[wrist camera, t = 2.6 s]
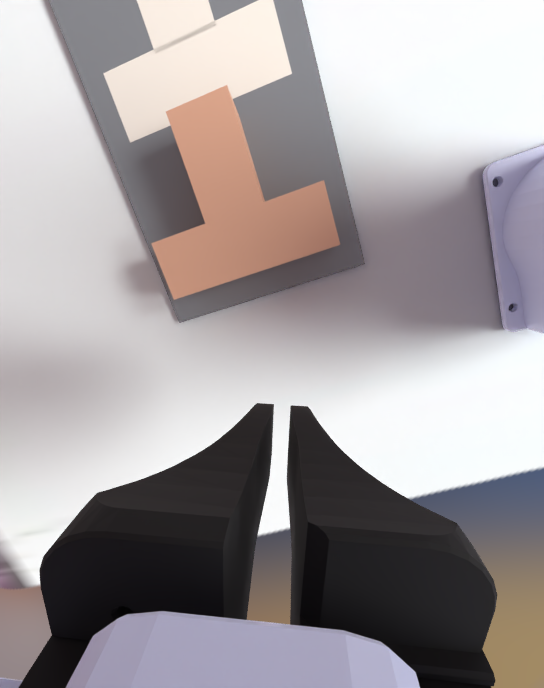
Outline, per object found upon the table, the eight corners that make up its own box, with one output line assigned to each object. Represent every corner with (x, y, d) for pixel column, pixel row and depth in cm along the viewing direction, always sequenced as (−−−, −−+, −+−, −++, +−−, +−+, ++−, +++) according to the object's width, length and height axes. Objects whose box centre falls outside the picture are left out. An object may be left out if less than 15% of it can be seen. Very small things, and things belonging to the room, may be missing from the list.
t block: (332, 246, 18) (340, 244, 15) (191, 293, 19) (173, 299, 16) (292, 92, 16) (292, 56, 13) (139, 156, 17) (108, 136, 14)
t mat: (363, 263, 18) (364, 263, 18) (181, 321, 20) (179, 322, 20) (256, -182, 14) (255, -196, 13) (29, -55, 15) (23, -63, 15)
